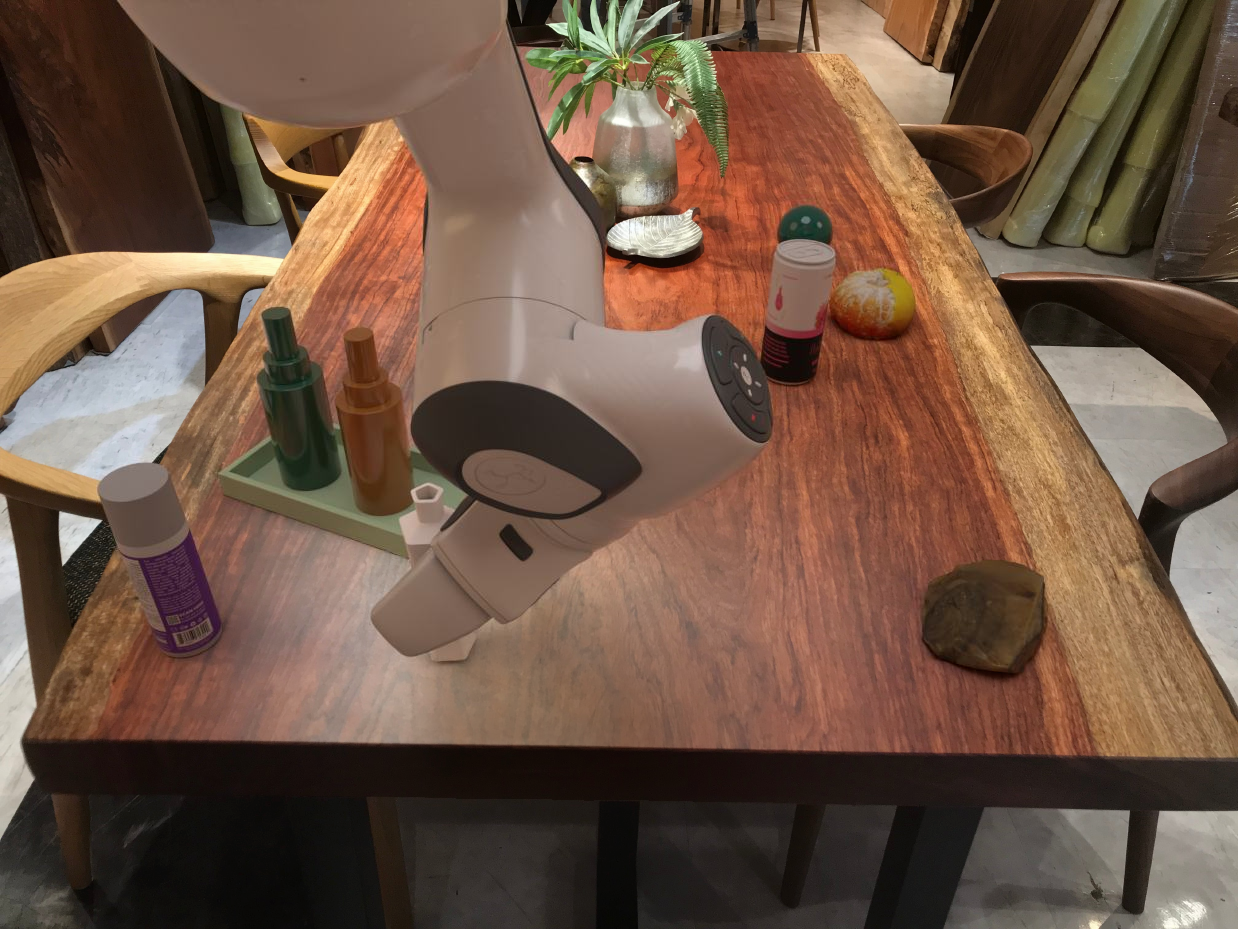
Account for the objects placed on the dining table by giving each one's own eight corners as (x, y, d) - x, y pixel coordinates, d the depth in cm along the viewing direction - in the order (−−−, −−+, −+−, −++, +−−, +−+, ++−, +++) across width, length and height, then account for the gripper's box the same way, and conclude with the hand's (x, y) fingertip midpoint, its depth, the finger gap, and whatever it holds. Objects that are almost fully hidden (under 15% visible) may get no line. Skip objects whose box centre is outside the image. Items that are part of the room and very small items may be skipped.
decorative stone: (1040, 695, 67) (1055, 663, 64) (912, 656, 69) (922, 624, 67) (1043, 602, 74) (1057, 571, 72) (928, 570, 77) (938, 540, 75)
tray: (549, 508, 83) (549, 486, 82) (486, 585, 75) (484, 563, 73) (305, 433, 92) (300, 412, 91) (223, 494, 84) (217, 473, 82)
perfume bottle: (407, 651, 68) (375, 500, 59) (445, 615, 71) (421, 466, 62) (453, 677, 66) (428, 525, 57) (490, 638, 69) (472, 488, 60)
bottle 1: (316, 497, 83) (279, 333, 73) (268, 481, 84) (225, 319, 74) (354, 465, 87) (324, 305, 77) (308, 451, 89) (272, 293, 79)
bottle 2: (392, 522, 80) (365, 356, 70) (341, 506, 82) (307, 341, 72) (428, 488, 84) (406, 326, 74) (378, 473, 86) (351, 312, 76)
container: (230, 612, 71) (180, 460, 63) (212, 657, 68) (156, 502, 59) (170, 614, 71) (111, 461, 62) (148, 658, 67) (82, 503, 59)
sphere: (767, 264, 129) (774, 210, 124) (780, 245, 135) (787, 193, 130) (822, 274, 127) (831, 219, 122) (833, 254, 133) (842, 201, 128)
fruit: (833, 293, 121) (861, 242, 116) (903, 329, 119) (934, 279, 114) (812, 326, 112) (841, 272, 107) (887, 365, 111) (920, 313, 106)
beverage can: (826, 380, 103) (849, 257, 94) (777, 391, 101) (795, 266, 92) (796, 354, 108) (815, 235, 99) (749, 364, 106) (763, 243, 97)
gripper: (592, 376, 62) (480, 456, 71) (424, 553, 47) (308, 626, 56) (649, 445, 63) (531, 515, 72) (503, 640, 48) (376, 698, 57)
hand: (432, 565), depth 64 cm, fingers closed on perfume bottle, 4 cm apart
